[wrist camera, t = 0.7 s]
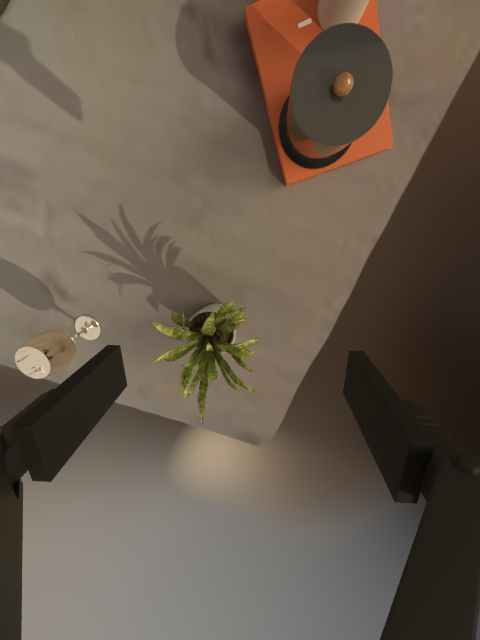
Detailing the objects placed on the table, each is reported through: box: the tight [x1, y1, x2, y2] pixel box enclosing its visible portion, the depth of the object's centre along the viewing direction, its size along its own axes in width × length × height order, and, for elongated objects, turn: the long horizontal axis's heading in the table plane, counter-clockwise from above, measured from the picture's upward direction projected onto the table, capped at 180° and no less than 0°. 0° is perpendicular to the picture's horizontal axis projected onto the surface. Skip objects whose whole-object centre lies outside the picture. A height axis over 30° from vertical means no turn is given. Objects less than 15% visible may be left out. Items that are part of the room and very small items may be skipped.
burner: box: [278, 95, 352, 169], centre depth 32 cm, size 9×9×1 cm
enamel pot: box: [284, 23, 393, 163], centre depth 27 cm, size 8×8×11 cm
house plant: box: [150, 301, 261, 424], centre depth 37 cm, size 14×14×16 cm
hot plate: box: [244, 0, 393, 186], centre depth 32 cm, size 19×14×2 cm
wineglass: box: [15, 316, 101, 379], centre depth 41 cm, size 6×6×12 cm
